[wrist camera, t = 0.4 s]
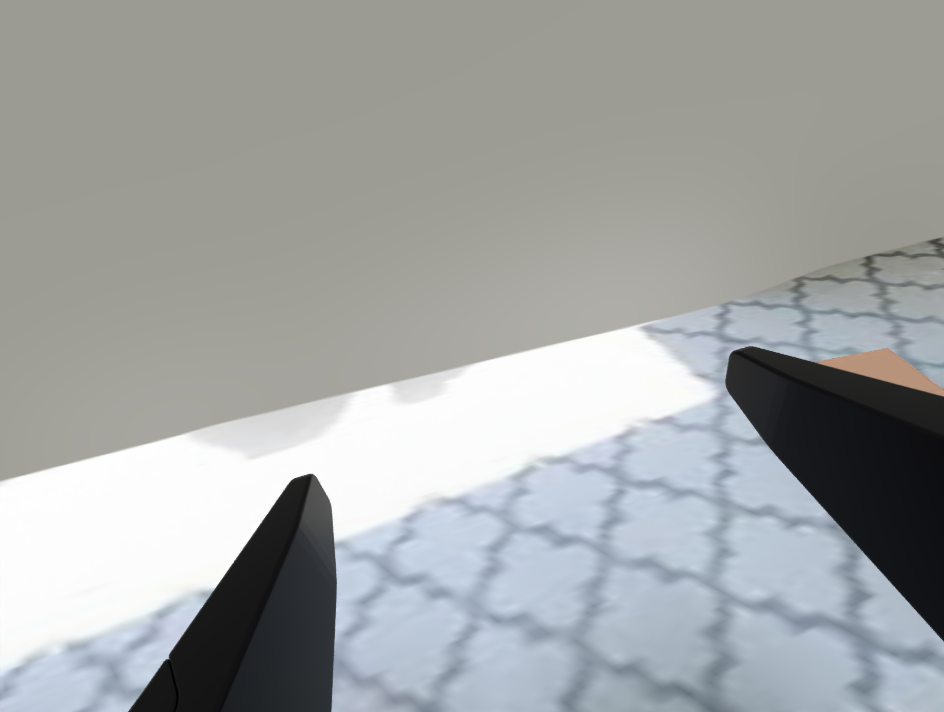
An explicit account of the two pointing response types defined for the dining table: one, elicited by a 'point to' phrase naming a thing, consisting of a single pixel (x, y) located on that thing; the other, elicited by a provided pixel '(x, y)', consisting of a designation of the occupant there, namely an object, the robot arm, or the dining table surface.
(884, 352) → the terracotta cube
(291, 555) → the robot arm
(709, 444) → the dining table surface
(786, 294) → the dining table surface
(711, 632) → the dining table surface
